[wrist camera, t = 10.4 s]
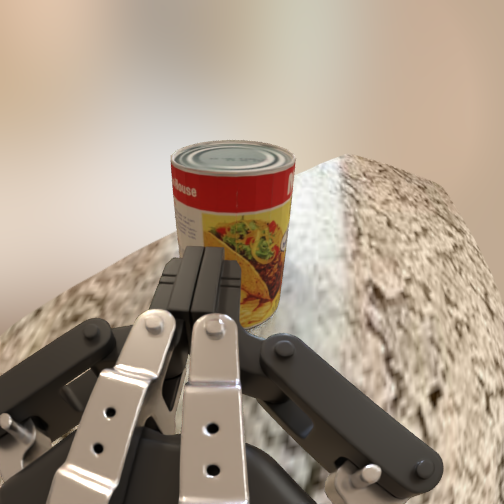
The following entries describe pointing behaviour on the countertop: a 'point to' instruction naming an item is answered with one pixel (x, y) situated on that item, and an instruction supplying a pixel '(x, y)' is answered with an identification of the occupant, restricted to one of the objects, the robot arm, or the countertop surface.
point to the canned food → (238, 213)
